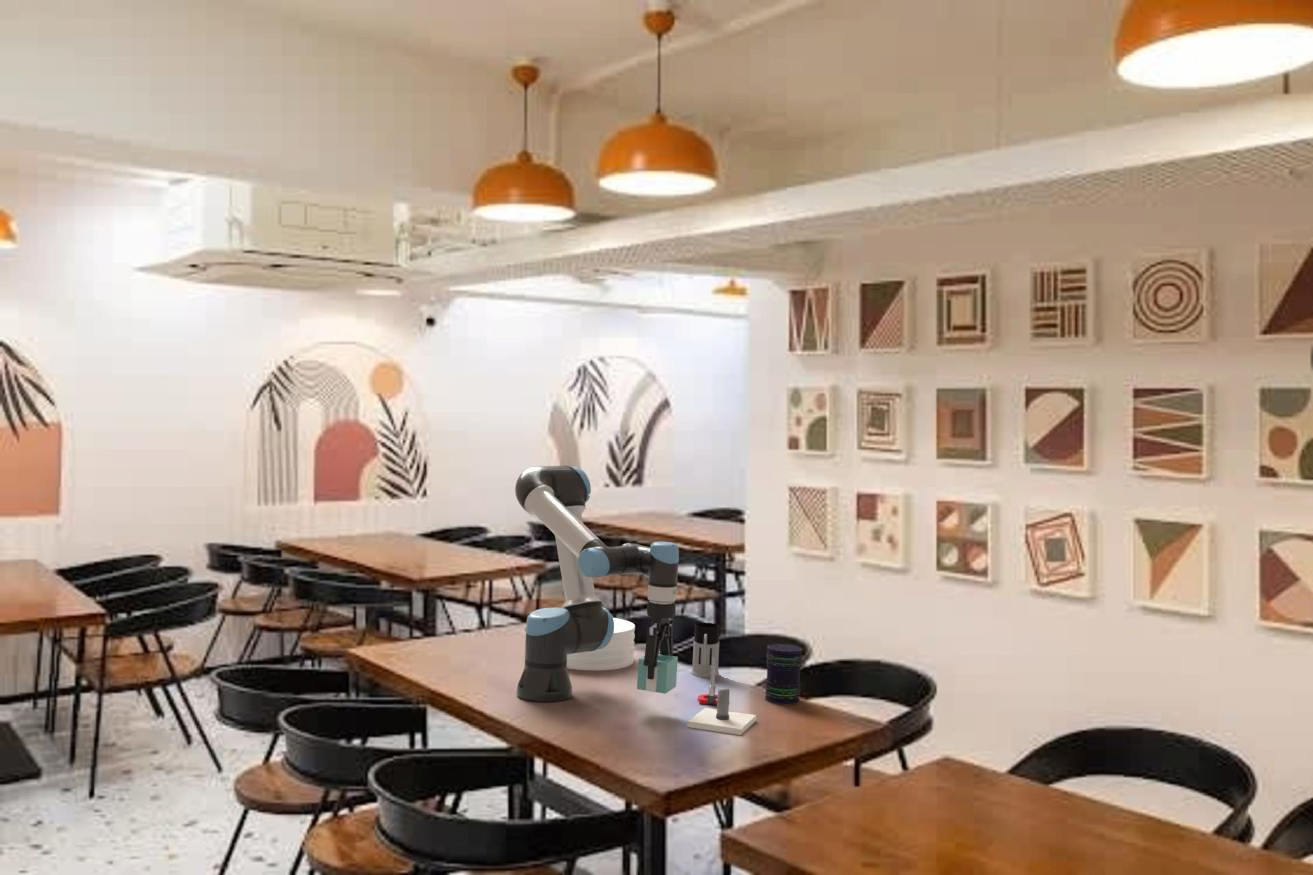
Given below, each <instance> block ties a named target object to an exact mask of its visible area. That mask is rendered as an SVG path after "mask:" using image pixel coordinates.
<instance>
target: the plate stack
mask: <svg viewBox="0 0 1313 875" xmlns="http://www.w3.org/2000/svg"><path fill="white" fill-rule="evenodd" d="M613 620H614V633H613V636H612V638H611V640H610V642H609V644H608V645H607V646H606V647H604V648H602V649H598V650H595V651H592V652H589V651H587V652H581V653H574V654H567V669H569V670H576V671H577V670H578V671H610V670H611V671H612V670H617V669H623V668H627V667H629V666H631V665H633V664H634V654H635V653H634V652H635V649H634V648H635V636H636V635H635V630H636V625H635V624H634V623H633V622H631V621H629V620H626V619H623V618H622V619H621V618H617V617H613Z"/></svg>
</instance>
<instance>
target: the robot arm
mask: <svg viewBox="0 0 1313 875" xmlns="http://www.w3.org/2000/svg"><path fill="white" fill-rule="evenodd" d="M514 492H515V497H516V500H517V502H518V504H519V505H520V506H521V507H522V509H523V510H524V511H525V512H526V513H527V514H529V515H531V516H535V517H536V518H537V519H539V521H540V522H541V523H542V524H544V525H545V527H546V528H548V530H550V531H551V532H552V533H553V535H554V538H555V543H556V548H557V556H558V561H559V562H558V563H559V568H560V574H561V580H562V585H563V586H562V587H563V593H564V599H565V601H564V602H563V605H562V606H561V607H557V606H555V607H554V606H553V607H544V608H539V609H536V610H533V611H531V612H530V613H529V615H528V616H527V618H526V624H525V625H526V626H525V644H524V645H525V646H524V667H523V670H522V673H521V676H520V679H519V681H518V684H517V686H516V687H517V688H516V689H517V690H516V695H517V697H519V698H520V699H523V700H526V701H532V702H538V703H539V702H541V703H542V702H544V703H545V702H546V703H547V702H549V703H550V702H551V703H552V702H560V701H561V702H562V701H565V700H568V699H569V698H570V699H571V698H572V696H573V686H572V682H571V678H570V674H569V672H568V668H567V654H574V653H581V652H587V651H589V652H592V651H595V650H598V649H602V648H604V647H606V646H607V645H608V644H609V642H610V640H611V638H612V636H613V633H614V620H613V618H614V616H613V615H612V613H610V610H608V609H607V608H605V607H603V602H602V599H600V598H599V597H597V595H596V593H595V585H594V580H593V578H603V577H604V578H605V577H611V576H612V577H613V576H620V575H623V576H624V575H631V574H633V575H634V574H636V575H637V574H638V575H643V576H644V575H645V576H648V583H647V584H648V585H647V586H648V588H647V590H648V591H647V600H649V601H648V602H647V603H646V605H647V606H646V615H647V616H648V617H650V618H652V621H651V624H650V626H647V628H646V639H645V640H646V642H645V651H644V656H645V657H644V664H643V665H644V666H647V677H646V692H651V693H657V692H656V690H657V672H658V666H656V665H657V660H658V655H659V654H662V655H669V656H673V654H674V643H673V642H674V640H673V639H674V621H675V620H674V618H675V617H676V614H677V613H676V611H677V610H676V608H677V603H676V601H677V595H678V594H679V590H678V589H677V588H678V574H679V562H680V553H679V552H680V550H679V545H678V544H677V543H674V542H668V541H654V542H652V543H651V544H650V546H645V545H641V544H638V543H636V542H635V543H629V542H627V543H623V544H621V545H620V546H607V545H606V544H605V543H604V542H603V541H602V540H601V539H599V537H597V535H595V533H594V532H592V531H591V530H590V528H588V527H587V525H585V524H584V520H583V513H584V512H585V510H586V503H587V502H589V500H590V495H591V492H592V489H591V482H590V479H589V477H588V475H587V474H586V472H585V471H584V470H582V469H581V468H580V467H577V466H573V465H572V466H570V465H536V466H535V465H534V466H531V467H528V468H526V469H524V470H523V472H522V473H521V474H520V475H519V476H518V478H517V480H516V482H515V489H514Z"/></svg>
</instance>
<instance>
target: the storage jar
mask: <svg viewBox="0 0 1313 875" xmlns="http://www.w3.org/2000/svg"><path fill="white" fill-rule="evenodd" d="M802 651H803V648H802V647H801V646H799V645H797V644H793V643H792V644H789V643H771V644H768V645H767V651H766V653H767V654H766V667H767V669H766V670H767V671H766V679H765V687H764V690H765V691H764V692H765V696H764V700H765V701H766V702H769V703H771V704H774V705H775V704H776V705H786V706H790V705H796V704H799V703H800V697H801V696H800V695H801V694H800V693H801V681H800V678H801V669H802V662H803V660H802V659H803V657H802V654H803V653H802Z"/></svg>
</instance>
